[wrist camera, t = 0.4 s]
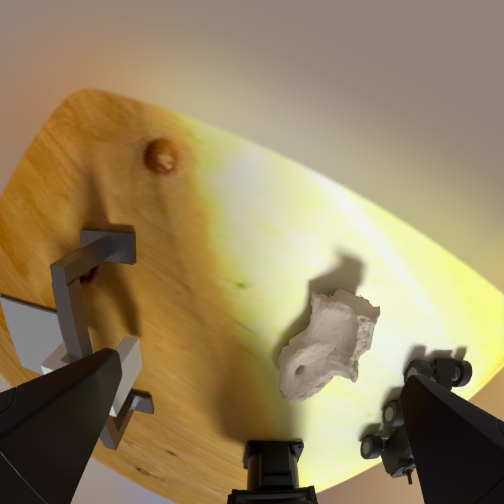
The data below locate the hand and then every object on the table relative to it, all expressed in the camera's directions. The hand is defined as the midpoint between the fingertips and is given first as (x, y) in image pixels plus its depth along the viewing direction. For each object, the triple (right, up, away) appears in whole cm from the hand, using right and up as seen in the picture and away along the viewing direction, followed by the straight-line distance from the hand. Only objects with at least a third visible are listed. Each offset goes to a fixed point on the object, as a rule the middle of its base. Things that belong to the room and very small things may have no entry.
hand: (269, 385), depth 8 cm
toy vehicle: (+18, -14, +19) cm, 30 cm away
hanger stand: (-13, -4, +16) cm, 21 cm away
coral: (+5, -3, +16) cm, 17 cm away
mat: (-25, -7, +17) cm, 31 cm away
